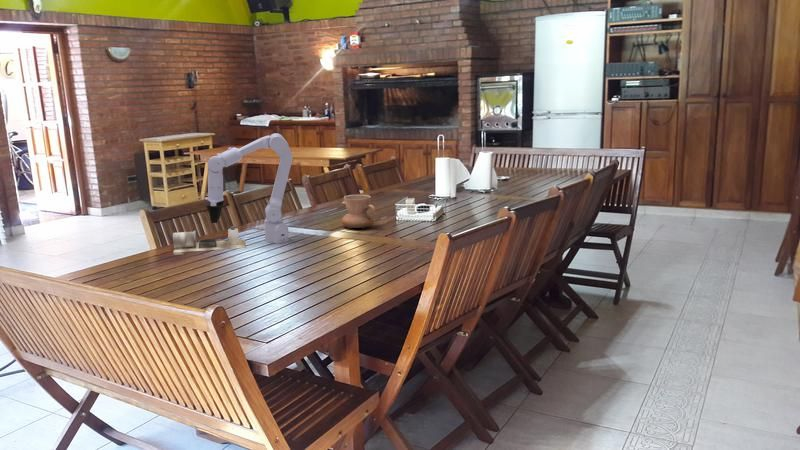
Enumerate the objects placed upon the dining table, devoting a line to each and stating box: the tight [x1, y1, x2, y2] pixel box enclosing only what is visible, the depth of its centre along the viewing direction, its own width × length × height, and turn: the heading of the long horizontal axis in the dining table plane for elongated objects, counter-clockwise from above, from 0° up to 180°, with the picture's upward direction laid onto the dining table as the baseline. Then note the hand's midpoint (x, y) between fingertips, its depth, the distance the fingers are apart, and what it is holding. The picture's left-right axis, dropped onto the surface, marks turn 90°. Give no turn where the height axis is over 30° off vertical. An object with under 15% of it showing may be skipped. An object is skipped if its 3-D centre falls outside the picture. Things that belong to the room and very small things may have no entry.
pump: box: [227, 225, 240, 245], centre depth 253 cm, size 4×4×7 cm
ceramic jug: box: [341, 194, 376, 229], centre depth 285 cm, size 18×14×14 cm
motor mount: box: [172, 230, 247, 256], centre depth 251 cm, size 27×14×7 cm, turn 106°
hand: (215, 220), depth 253 cm, fingers open, 7 cm apart
